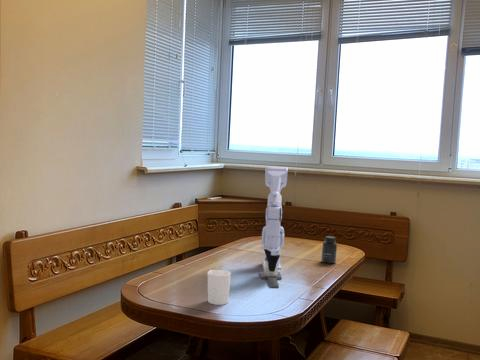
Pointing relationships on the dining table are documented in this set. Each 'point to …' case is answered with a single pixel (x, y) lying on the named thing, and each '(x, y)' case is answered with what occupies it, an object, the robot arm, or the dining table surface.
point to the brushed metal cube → (266, 269)
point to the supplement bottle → (329, 250)
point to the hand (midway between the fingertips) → (271, 269)
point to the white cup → (218, 286)
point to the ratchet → (271, 279)
